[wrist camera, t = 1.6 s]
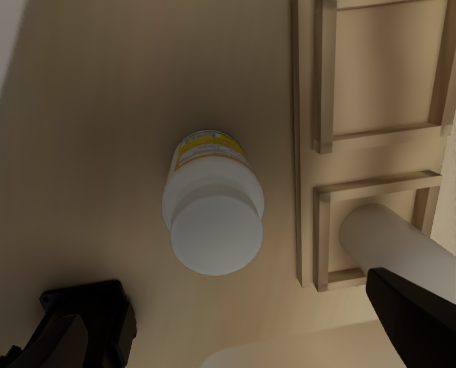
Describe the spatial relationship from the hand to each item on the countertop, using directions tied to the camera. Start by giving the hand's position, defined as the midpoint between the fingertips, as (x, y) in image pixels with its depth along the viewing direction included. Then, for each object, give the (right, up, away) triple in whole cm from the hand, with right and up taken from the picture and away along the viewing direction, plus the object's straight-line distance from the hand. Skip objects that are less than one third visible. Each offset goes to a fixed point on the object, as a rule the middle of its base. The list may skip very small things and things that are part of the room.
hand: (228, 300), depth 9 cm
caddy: (+10, +6, +13) cm, 18 cm away
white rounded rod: (+11, 0, +14) cm, 18 cm away
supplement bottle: (-2, +5, +12) cm, 13 cm away
